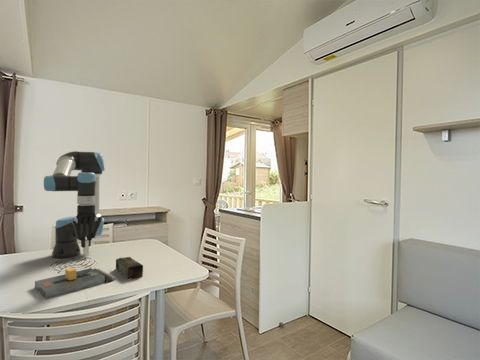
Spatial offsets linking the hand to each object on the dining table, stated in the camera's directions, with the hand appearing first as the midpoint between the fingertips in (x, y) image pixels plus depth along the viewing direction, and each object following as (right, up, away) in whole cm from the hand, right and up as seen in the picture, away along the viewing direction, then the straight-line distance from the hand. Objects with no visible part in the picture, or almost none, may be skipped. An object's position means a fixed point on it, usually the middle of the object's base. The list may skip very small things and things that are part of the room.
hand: (85, 253), depth 135 cm
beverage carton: (+15, -14, +13) cm, 25 cm away
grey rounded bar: (+4, -13, +6) cm, 15 cm away
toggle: (-5, -10, -4) cm, 12 cm away
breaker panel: (-5, -14, -4) cm, 15 cm away
